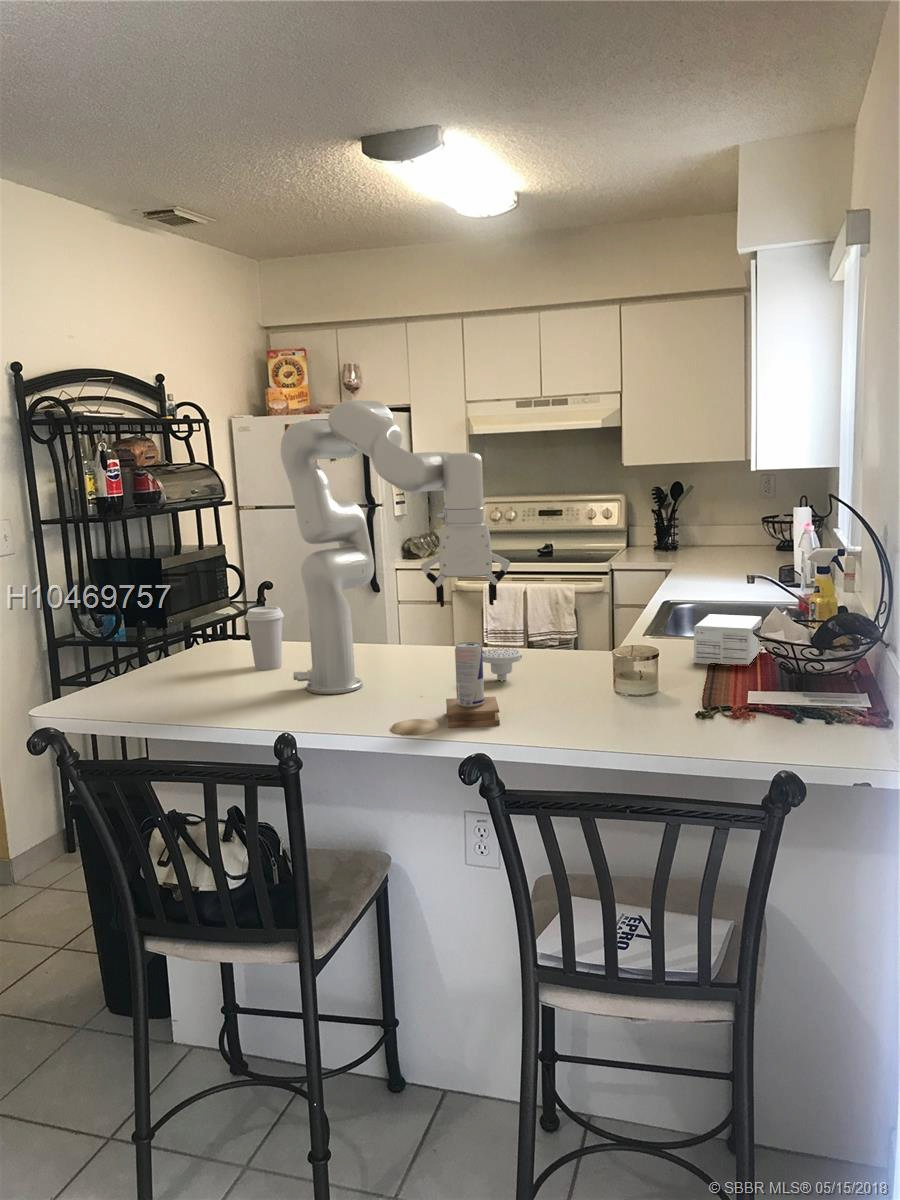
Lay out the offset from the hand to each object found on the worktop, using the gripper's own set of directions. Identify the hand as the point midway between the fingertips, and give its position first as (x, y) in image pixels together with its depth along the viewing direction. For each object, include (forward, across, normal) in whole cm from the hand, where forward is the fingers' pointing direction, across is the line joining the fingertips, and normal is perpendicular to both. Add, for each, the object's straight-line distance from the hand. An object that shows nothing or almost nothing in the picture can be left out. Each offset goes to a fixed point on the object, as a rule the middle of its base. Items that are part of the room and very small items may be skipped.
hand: (466, 605), depth 184 cm
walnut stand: (+22, 0, -2) cm, 23 cm away
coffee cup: (+24, -49, +51) cm, 75 cm away
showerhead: (+23, +8, +28) cm, 37 cm away
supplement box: (+23, +64, +41) cm, 79 cm away
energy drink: (+20, 0, -2) cm, 20 cm away
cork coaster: (+23, -11, -6) cm, 26 cm away
